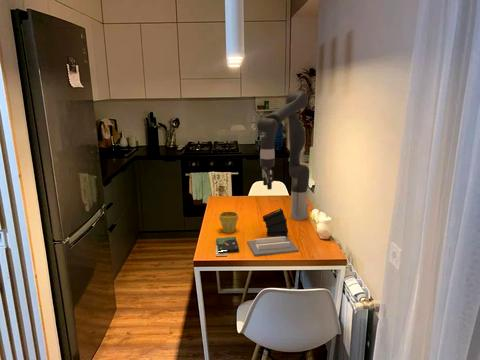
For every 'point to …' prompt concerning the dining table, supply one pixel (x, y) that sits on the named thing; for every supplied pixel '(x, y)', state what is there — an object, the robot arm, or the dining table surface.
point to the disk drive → (227, 245)
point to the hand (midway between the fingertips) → (267, 187)
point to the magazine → (276, 223)
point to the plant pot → (228, 221)
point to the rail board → (272, 246)
